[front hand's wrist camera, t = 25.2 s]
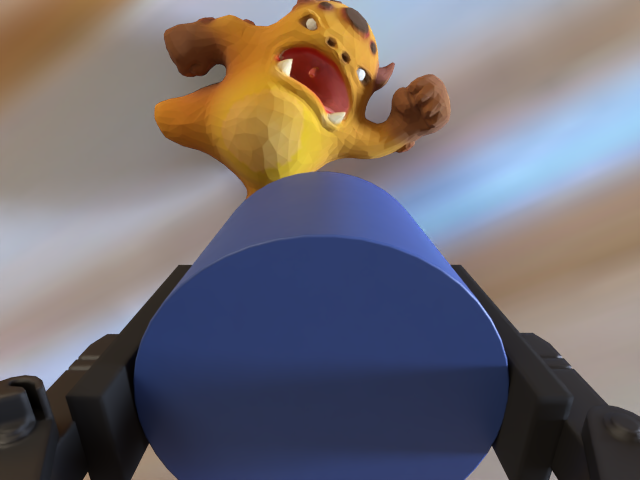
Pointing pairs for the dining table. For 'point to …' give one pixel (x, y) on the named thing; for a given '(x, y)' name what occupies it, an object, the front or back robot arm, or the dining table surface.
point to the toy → (292, 93)
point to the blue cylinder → (321, 347)
